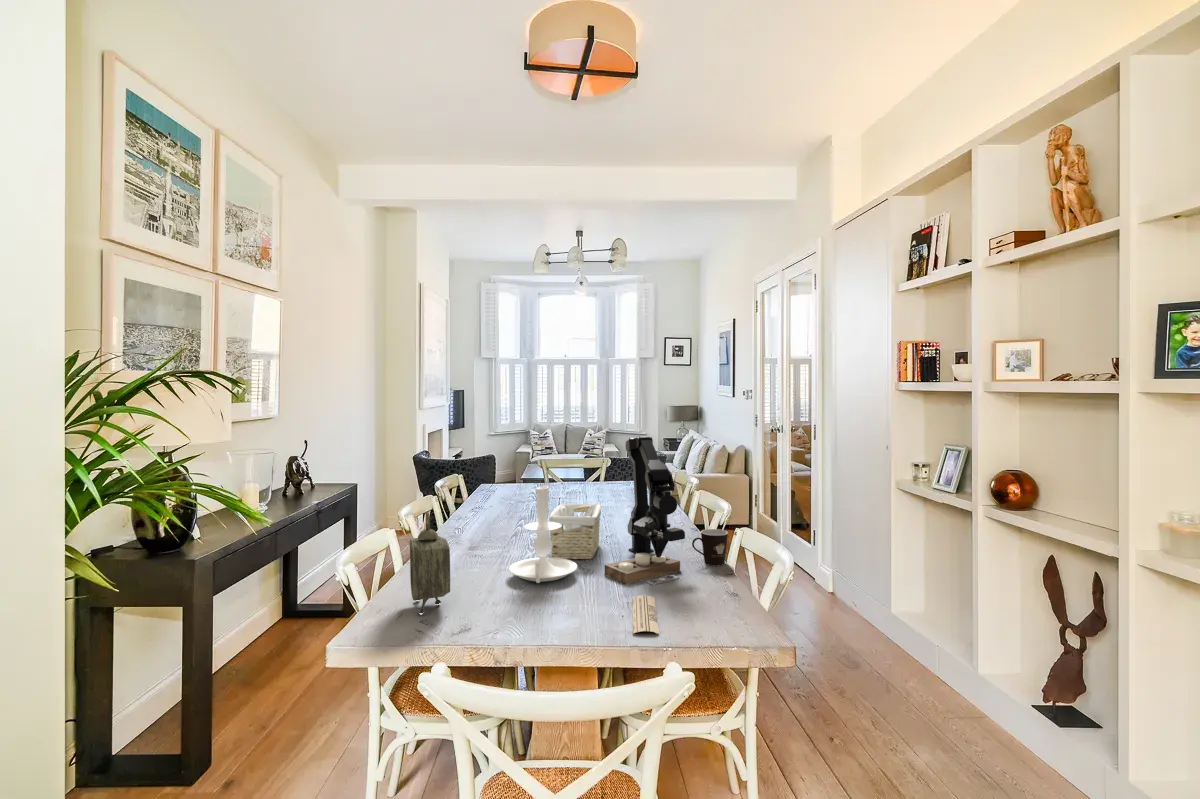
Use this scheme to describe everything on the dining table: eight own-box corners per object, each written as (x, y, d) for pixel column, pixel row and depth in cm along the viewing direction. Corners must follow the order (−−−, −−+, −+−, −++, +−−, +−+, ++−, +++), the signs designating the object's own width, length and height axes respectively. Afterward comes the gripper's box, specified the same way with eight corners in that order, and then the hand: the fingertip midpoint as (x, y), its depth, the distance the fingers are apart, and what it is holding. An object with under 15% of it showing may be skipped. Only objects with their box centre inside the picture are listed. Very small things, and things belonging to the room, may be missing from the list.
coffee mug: (726, 559, 200) (726, 529, 199) (729, 567, 191) (729, 535, 191) (690, 558, 201) (690, 528, 201) (692, 566, 192) (692, 535, 192)
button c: (648, 567, 190) (648, 556, 190) (659, 564, 193) (659, 554, 193) (657, 570, 187) (657, 559, 187) (668, 567, 189) (668, 557, 189)
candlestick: (499, 593, 168) (498, 493, 168) (515, 566, 193) (514, 479, 193) (573, 594, 168) (572, 493, 167) (579, 567, 192) (578, 479, 192)
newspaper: (632, 601, 163) (632, 595, 163) (658, 602, 163) (658, 595, 163) (632, 638, 140) (632, 630, 140) (663, 638, 139) (663, 630, 139)
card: (644, 582, 177) (644, 580, 177) (671, 575, 183) (671, 574, 183) (652, 585, 174) (652, 583, 174) (679, 578, 180) (679, 577, 180)
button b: (632, 565, 187) (632, 554, 186) (643, 562, 189) (643, 552, 189) (641, 568, 183) (641, 557, 183) (652, 565, 186) (652, 555, 185)
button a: (615, 574, 183) (615, 564, 183) (627, 572, 185) (627, 561, 185) (624, 578, 179) (624, 567, 179) (636, 575, 182) (636, 564, 182)
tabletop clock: (410, 600, 164) (409, 508, 163) (444, 595, 167) (443, 505, 166) (414, 619, 150) (412, 519, 150) (451, 614, 153) (450, 516, 153)
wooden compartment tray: (604, 574, 184) (604, 564, 184) (656, 562, 197) (656, 553, 197) (626, 584, 176) (626, 573, 175) (680, 570, 188) (680, 561, 188)
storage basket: (559, 542, 224) (558, 502, 223) (602, 542, 222) (602, 502, 222) (547, 560, 200) (547, 516, 200) (596, 561, 198) (596, 517, 198)
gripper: (619, 506, 192) (620, 554, 193) (658, 516, 177) (658, 569, 178) (646, 502, 199) (646, 549, 199) (686, 511, 184) (686, 562, 184)
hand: (658, 557), depth 190 cm, fingers closed, pressing on button c
